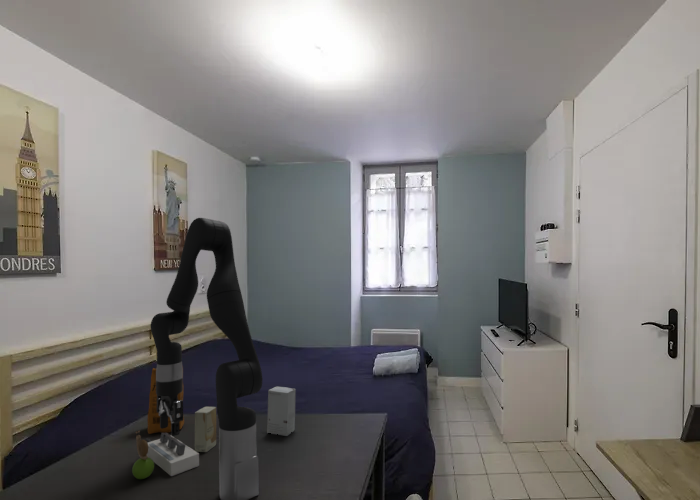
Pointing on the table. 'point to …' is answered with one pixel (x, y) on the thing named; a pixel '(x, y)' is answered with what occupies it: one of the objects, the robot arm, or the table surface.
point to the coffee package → (152, 413)
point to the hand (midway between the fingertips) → (169, 431)
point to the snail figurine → (142, 460)
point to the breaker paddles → (172, 443)
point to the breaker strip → (172, 457)
